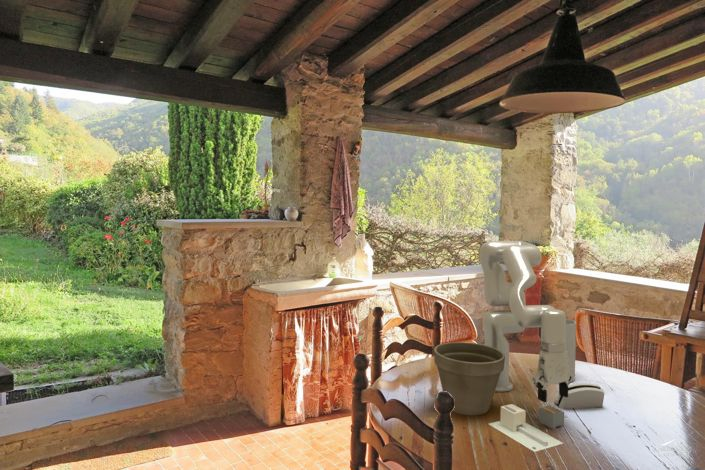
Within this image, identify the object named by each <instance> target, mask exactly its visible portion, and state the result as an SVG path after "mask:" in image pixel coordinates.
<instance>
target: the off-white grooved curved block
mask: <svg viewBox="0 0 705 470" xmlns="http://www.w3.org/2000/svg"><path fill="white" fill-rule="evenodd" d="M604 398H605V392H604V390H603V389H602V388H601V387H600V386H599V385H597V384H594V383H589V382H588V383H586V382H585V383H584V382H583V383H580V382H579V383H573V384H569V385H568V397H564V396H561V395H559V394H558V396H557V398H556V399H554V401H553V403H554V404H555V405H558V408H559V409H560V410H563V409H565V410H566V409H579V408H580V409H581V408H582V409H583V408H600V407H601V408H602V407H603V405H604Z"/></svg>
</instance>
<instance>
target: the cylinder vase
mask: <svg viewBox="0 0 705 470" xmlns="http://www.w3.org/2000/svg"><path fill="white" fill-rule="evenodd" d="M576 337H577V321H575V320H573V319H570V318H566V351H567V353H568V358H569V367H570V369H571V370H573V374H572V376H571V377H572V378H571V380H570V383H573V382H574V381H575V379H576V350H577V349H576V346H577V344H576V343H577V342H576V339H577V338H576Z"/></svg>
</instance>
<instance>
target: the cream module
mask: <svg viewBox="0 0 705 470" xmlns="http://www.w3.org/2000/svg"><path fill="white" fill-rule="evenodd" d="M526 414H527V413H526V410H525V409H523V408H521V407H519V406H517V405H515V404H512V403H510V404H506V405H502V406H500V420H499V421H500V424H501V425H503V426H504V427H506V428H508V429H509V430H511V431H513V432H516V430H517V426H518V425H519V426H521V427H523V428H525V423H526V418H527V417H526Z"/></svg>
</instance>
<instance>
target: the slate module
mask: <svg viewBox="0 0 705 470" xmlns="http://www.w3.org/2000/svg"><path fill="white" fill-rule="evenodd" d="M538 423H540V424H542V425H544V426H546V427H548V428H549V429H552V430H556V429H557V428H556V427H560V428H563V427H565V411H563V410H562V409H560V408H559V409H558V408H556V407H554V406H552V405H545V406H542V407H538Z"/></svg>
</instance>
